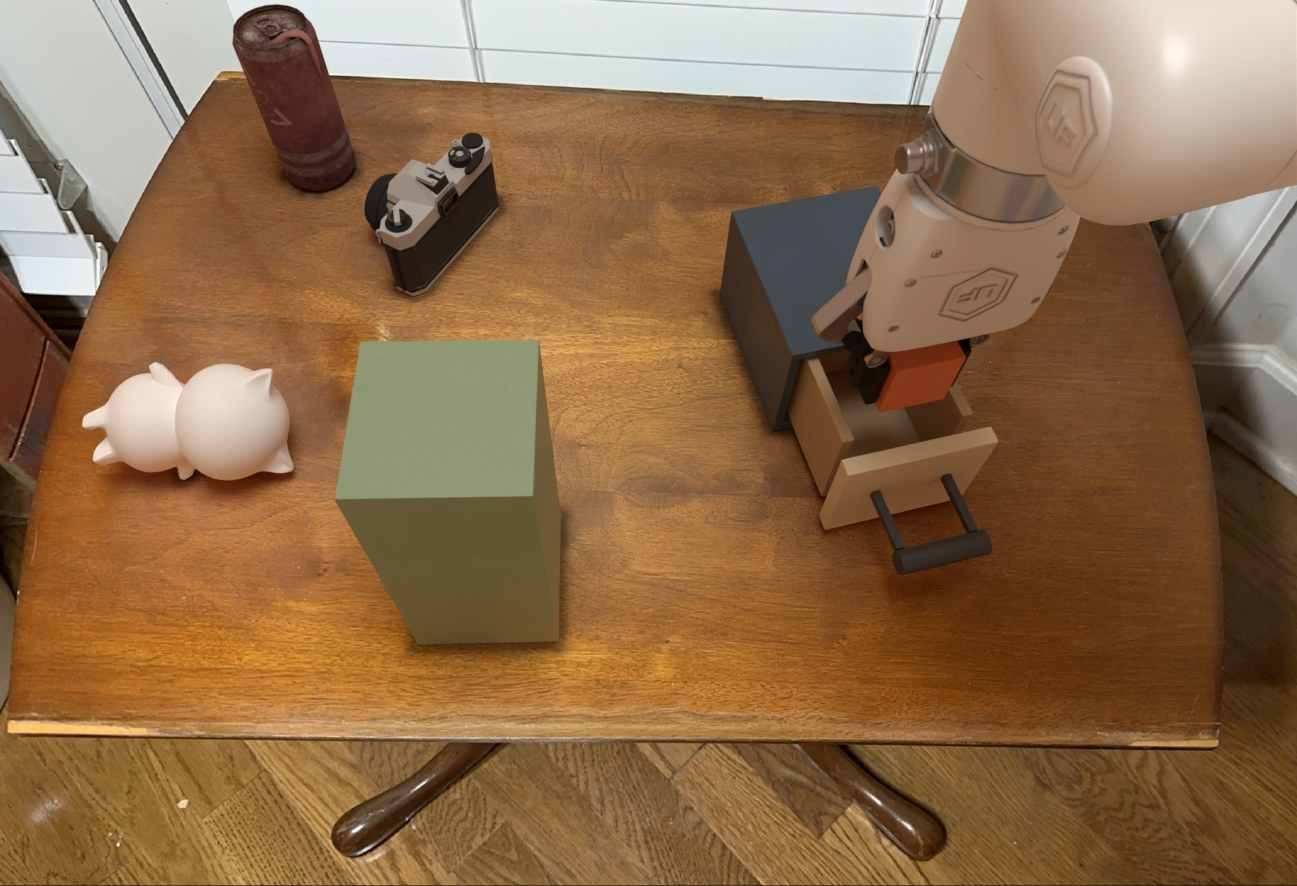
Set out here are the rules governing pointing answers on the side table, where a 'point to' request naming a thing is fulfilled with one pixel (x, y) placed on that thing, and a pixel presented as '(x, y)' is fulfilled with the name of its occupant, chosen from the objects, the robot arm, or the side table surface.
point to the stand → (456, 487)
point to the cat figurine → (196, 423)
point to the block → (920, 375)
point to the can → (294, 95)
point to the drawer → (889, 459)
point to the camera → (433, 211)
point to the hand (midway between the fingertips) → (899, 376)
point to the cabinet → (788, 283)
